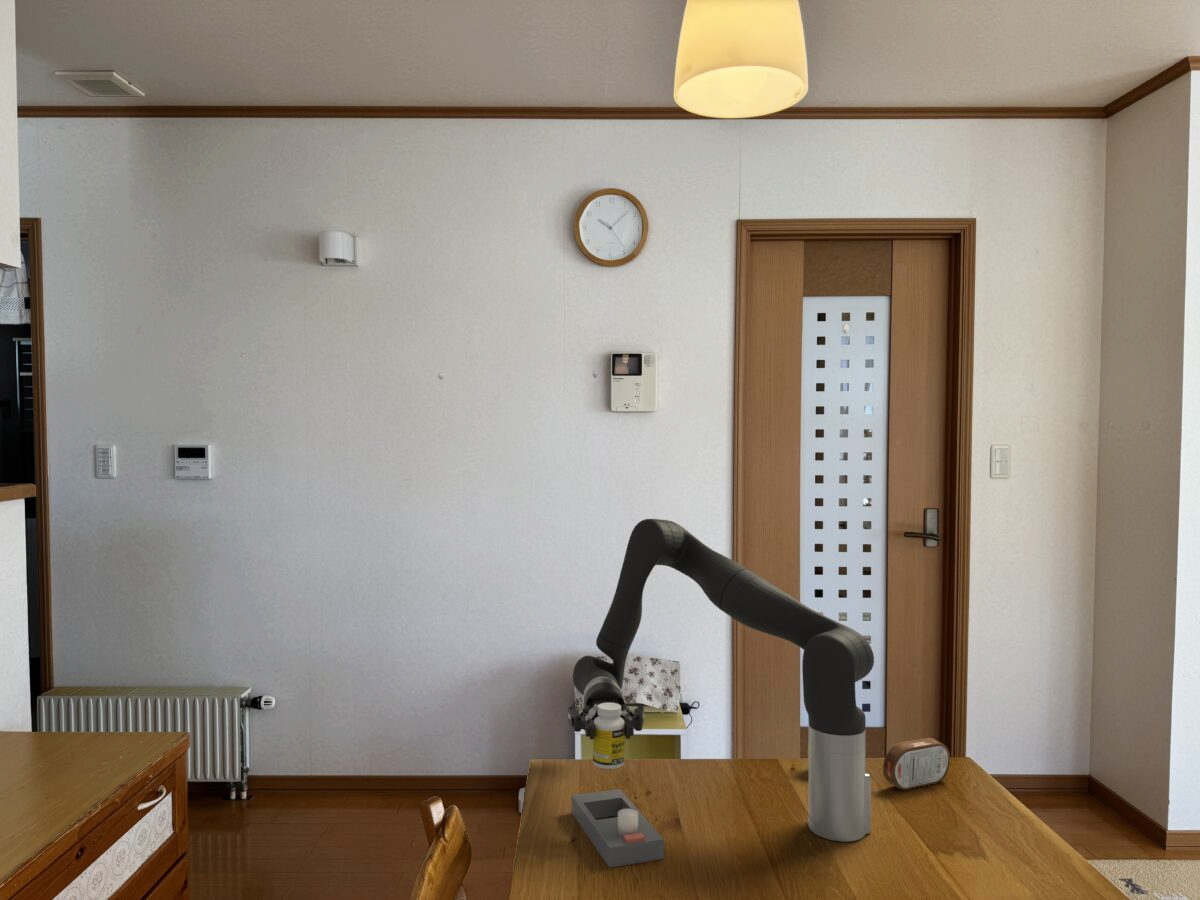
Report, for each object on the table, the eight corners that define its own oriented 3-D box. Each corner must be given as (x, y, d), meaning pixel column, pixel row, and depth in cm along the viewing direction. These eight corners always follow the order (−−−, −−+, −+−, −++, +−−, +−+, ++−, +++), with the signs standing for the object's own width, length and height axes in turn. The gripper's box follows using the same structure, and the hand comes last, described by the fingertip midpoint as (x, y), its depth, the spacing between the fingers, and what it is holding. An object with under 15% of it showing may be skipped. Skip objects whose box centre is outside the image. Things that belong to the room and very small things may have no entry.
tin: (940, 776, 157) (940, 733, 157) (953, 782, 154) (953, 738, 154) (881, 789, 151) (881, 744, 151) (893, 795, 148) (893, 749, 148)
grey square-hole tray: (619, 805, 143) (619, 772, 143) (663, 858, 124) (664, 819, 124) (571, 812, 140) (571, 778, 140) (609, 867, 121) (609, 827, 121)
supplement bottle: (614, 772, 131) (614, 713, 131) (586, 765, 134) (586, 707, 134) (630, 761, 136) (630, 704, 136) (603, 755, 139) (603, 698, 139)
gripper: (565, 682, 149) (567, 711, 132) (641, 681, 150) (653, 710, 133) (565, 722, 149) (566, 756, 132) (641, 721, 150) (653, 755, 133)
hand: (610, 733), depth 132 cm, fingers closed on supplement bottle, 5 cm apart
